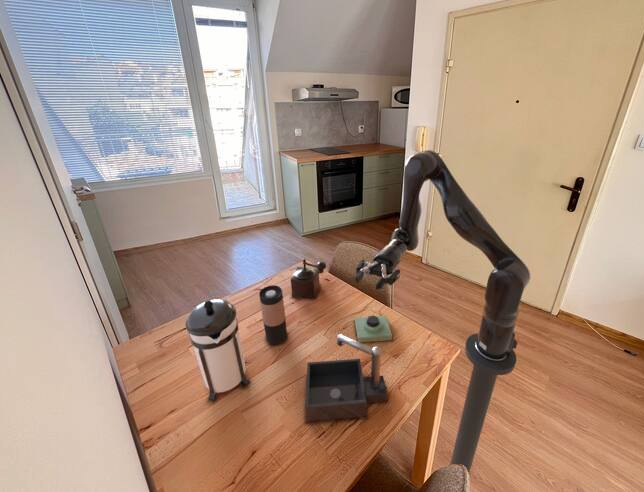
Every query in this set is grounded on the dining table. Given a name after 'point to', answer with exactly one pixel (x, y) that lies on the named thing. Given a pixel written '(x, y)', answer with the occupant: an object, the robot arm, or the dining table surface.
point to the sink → (339, 390)
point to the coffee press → (217, 345)
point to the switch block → (372, 330)
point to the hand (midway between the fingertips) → (366, 283)
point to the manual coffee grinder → (306, 280)
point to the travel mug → (273, 314)
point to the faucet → (372, 351)
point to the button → (373, 321)
